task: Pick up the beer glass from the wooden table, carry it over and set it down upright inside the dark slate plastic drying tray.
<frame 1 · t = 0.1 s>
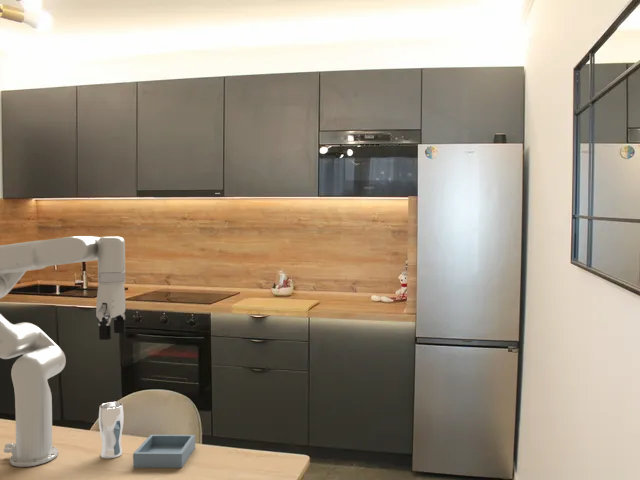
hand: (112, 336, 153), 37 cm above the table, tool pointing down, fingers open, 9 cm apart
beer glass: (111, 455, 157), on the table
drying tray: (165, 457, 155), on the table
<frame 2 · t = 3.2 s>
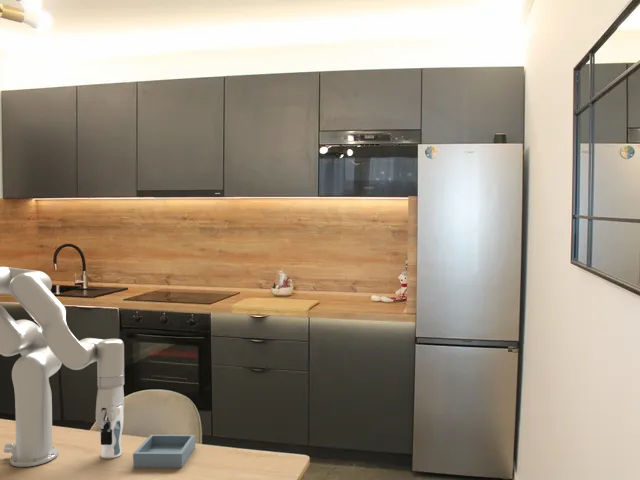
hand: (111, 439, 157), 5 cm above the table, tool pointing down, fingers closed on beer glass, 6 cm apart
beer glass: (111, 455, 157), on the table, touching gripper
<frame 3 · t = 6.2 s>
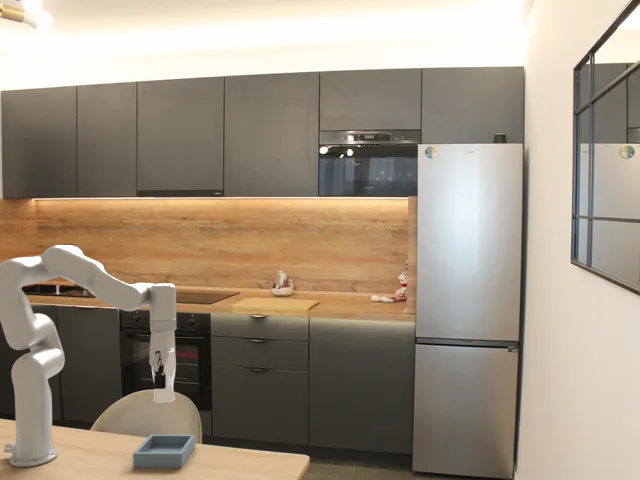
hand: (164, 384, 154), 22 cm above the table, tool pointing down, fingers closed on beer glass, 6 cm apart
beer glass: (164, 400, 154), point 17 cm above the table, touching gripper
when the fingers open (7 cm above the table, at t = 9.5 s): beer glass drops 1 cm, resting on drying tray.
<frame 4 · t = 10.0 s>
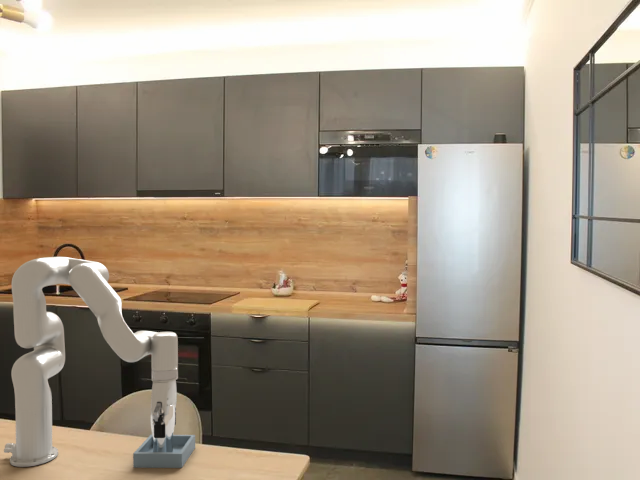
hand: (165, 431, 155), 8 cm above the table, tool pointing down, fingers open, 9 cm apart
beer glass: (162, 456, 153), point 1 cm above the table, touching drying tray, gripper
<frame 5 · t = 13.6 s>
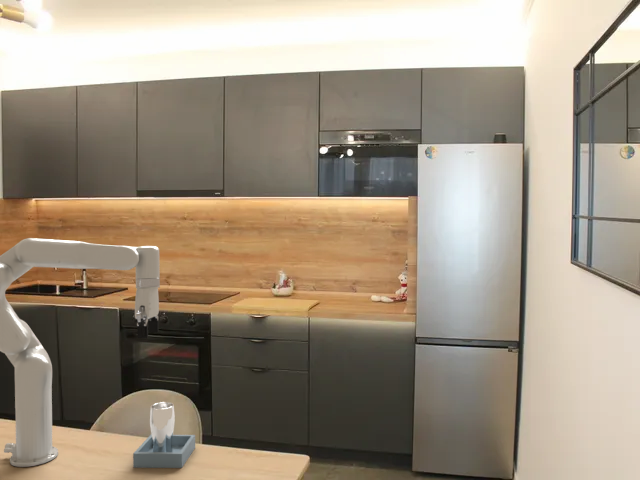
hand: (148, 335, 171), 33 cm above the table, tool pointing down, fingers open, 9 cm apart
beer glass: (162, 456, 153), point 1 cm above the table, touching drying tray
at the end: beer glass inside the target area on the drying tray (1.6 cm from its centre), point 0.8 cm above the drying tray's base; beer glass tilted 0°; the gripper is holding nothing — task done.
